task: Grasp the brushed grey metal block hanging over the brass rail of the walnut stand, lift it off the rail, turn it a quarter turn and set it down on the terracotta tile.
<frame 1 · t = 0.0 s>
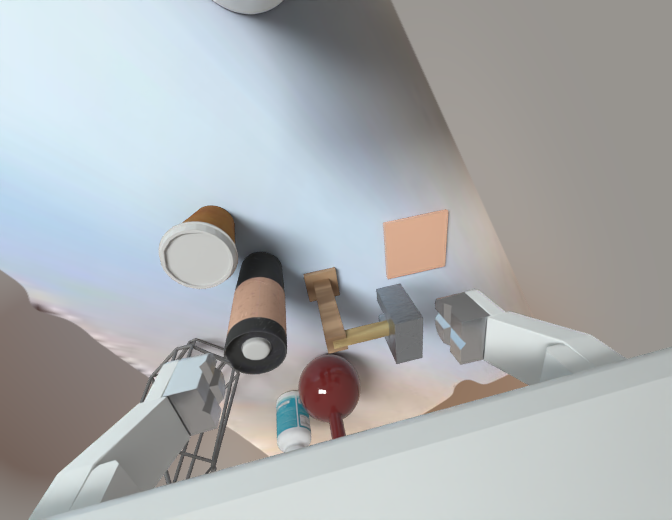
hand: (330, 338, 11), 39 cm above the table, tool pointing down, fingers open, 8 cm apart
round-bottom flask: (324, 361, 68), on the table
stand: (321, 283, 57), on the table
pill bottle: (291, 398, 72), on the table
tile: (414, 244, 56), on the table
brushed grey metal block: (389, 305, 48), point 10 cm above the table, touching stand
travel mug: (261, 268, 53), on the table
disposable coffee cup: (214, 223, 47), on the table
geometric lantern: (197, 355, 60), on the table
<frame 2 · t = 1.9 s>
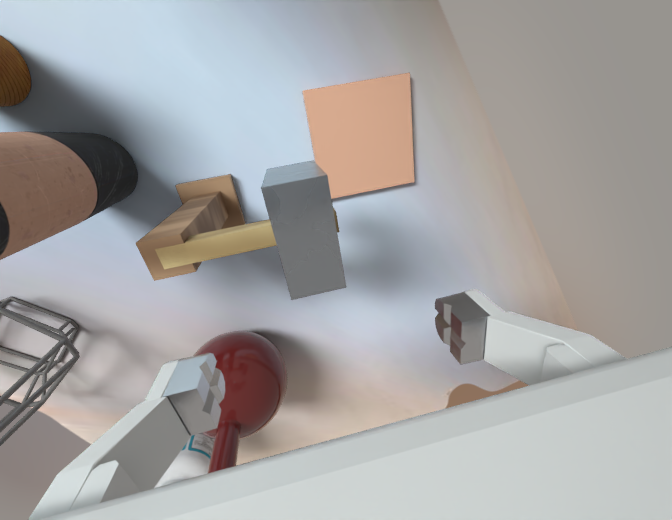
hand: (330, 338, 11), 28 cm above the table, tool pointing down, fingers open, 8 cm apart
round-bottom flask: (242, 347, 45), on the table
stand: (213, 204, 35), on the table
pill bottle: (200, 407, 48), on the table
tile: (361, 140, 35), on the table
brushed grey metal block: (300, 209, 27), point 10 cm above the table, touching stand
travel mug: (102, 168, 32), on the table
geometric lantern: (23, 329, 38), on the table
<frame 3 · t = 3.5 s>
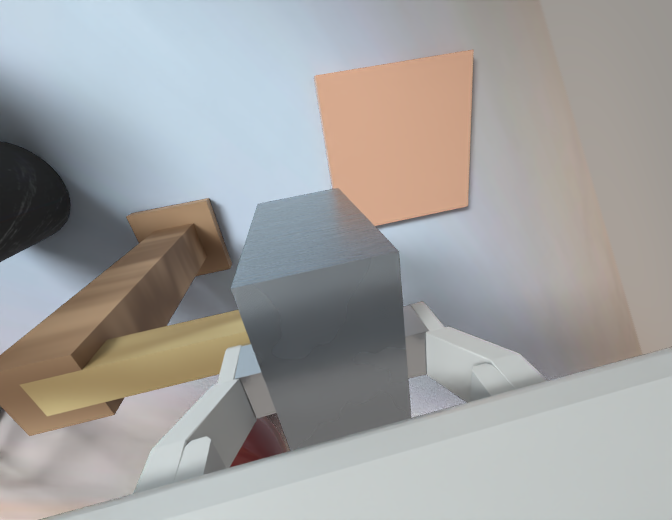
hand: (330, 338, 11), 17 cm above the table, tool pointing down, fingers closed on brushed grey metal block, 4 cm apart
round-bottom flask: (231, 418, 34), on the table
stand: (185, 240, 25), on the table
tile: (397, 148, 24), on the table
brushed grey metal block: (314, 267, 16), point 10 cm above the table, touching gripper, stand
travel mug: (15, 192, 21), on the table
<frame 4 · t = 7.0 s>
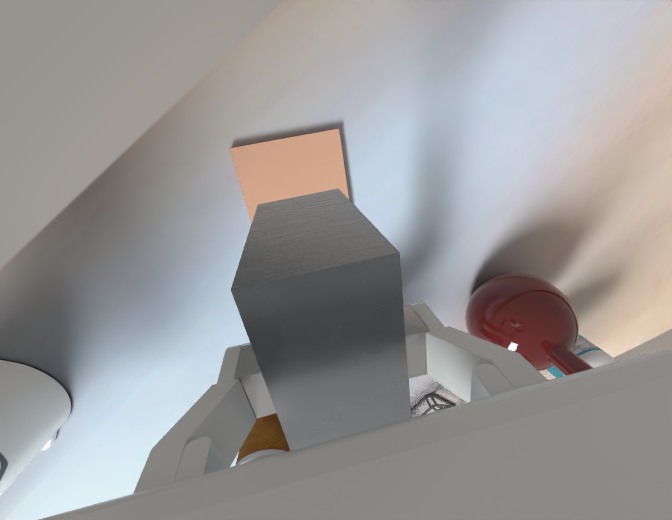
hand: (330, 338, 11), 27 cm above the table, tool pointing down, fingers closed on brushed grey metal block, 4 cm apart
round-bottom flask: (486, 295, 47), on the table
pill bottle: (535, 330, 52), on the table
tile: (296, 191, 35), on the table
brushed grey metal block: (314, 268, 16), point 21 cm above the table, touching gripper
disposable coffee cup: (269, 407, 49), on the table
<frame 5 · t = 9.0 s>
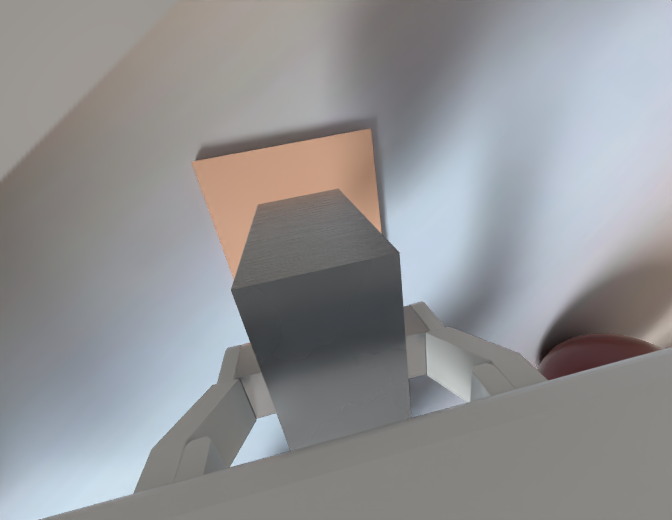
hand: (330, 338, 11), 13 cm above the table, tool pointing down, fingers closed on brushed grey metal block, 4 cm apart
round-bottom flask: (556, 354, 35), on the table
tile: (301, 226, 23), on the table
brushed grey metal block: (314, 268, 16), point 7 cm above the table, touching gripper
when the fingers open (8 cm above the table, at t = 10.6 s): brushed grey metal block stays where it is, resting on tile.
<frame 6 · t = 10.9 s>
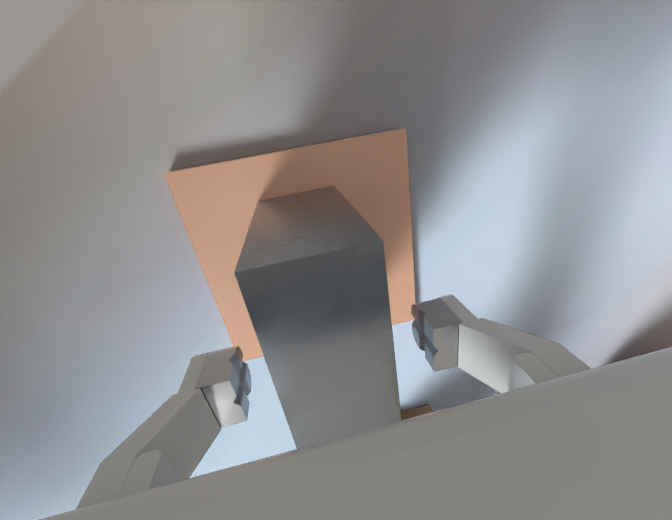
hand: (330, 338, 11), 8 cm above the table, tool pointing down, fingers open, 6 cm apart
tile: (311, 254, 18), on the table
brushed grey metal block: (311, 261, 17), point 1 cm above the table, touching tile
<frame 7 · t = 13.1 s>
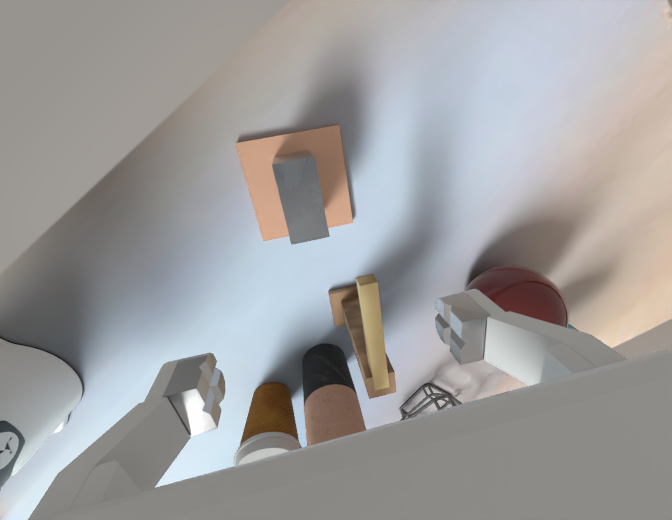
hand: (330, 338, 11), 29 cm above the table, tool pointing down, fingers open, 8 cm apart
round-bottom flask: (481, 287, 48), on the table
stand: (350, 303, 45), on the table
tile: (298, 185, 37), on the table
brushed grey metal block: (298, 187, 36), point 1 cm above the table, touching tile
travel mug: (323, 359, 49), on the table
disposable coffee cup: (272, 394, 51), on the table
geometric lantern: (422, 406, 58), on the table
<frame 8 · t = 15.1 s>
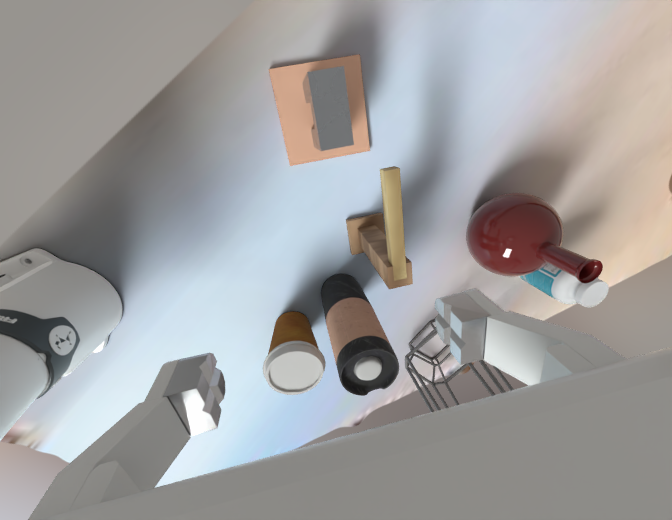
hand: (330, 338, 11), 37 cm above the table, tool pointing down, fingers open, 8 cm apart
round-bottom flask: (484, 222, 53), on the table
stand: (365, 233, 50), on the table
pill bottle: (528, 259, 58), on the table
tile: (322, 113, 41), on the table
brushed grey metal block: (322, 113, 40), point 1 cm above the table, touching tile
travel mug: (340, 290, 53), on the table
disposable coffee cup: (292, 324, 55), on the table
geometric lantern: (430, 343, 63), on the table
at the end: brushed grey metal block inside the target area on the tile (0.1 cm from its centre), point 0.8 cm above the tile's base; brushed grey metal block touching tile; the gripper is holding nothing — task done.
